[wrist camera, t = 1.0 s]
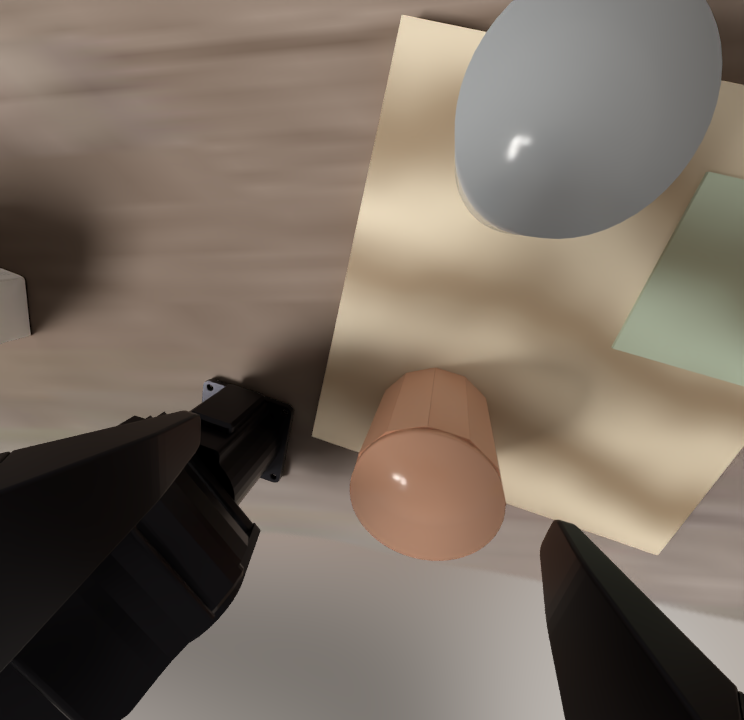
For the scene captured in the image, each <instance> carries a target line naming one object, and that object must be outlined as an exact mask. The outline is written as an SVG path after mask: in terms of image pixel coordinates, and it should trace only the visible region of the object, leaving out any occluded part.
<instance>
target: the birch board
mask: <svg viewBox="0 0 744 720" xmlns="http://www.w3.org/2000/svg"><path fill="white" fill-rule="evenodd" d="M485 34H486V32H484V31H479V30H474V29H469V28H464V27H459V26H455V25H450V24H445V23H440V22H435V21H430V20H425V19H420V18H416V17H411V16H406V15H402V17H401V21H400V26H399V31H398V35H397V40H396V45H395V49H394V54H393V59H392V63H391V68H390V73H389V77H388V82H387V87H386V91H385V96H384V101H383V105H382V110H381V115H380V119H379V124H378V129H377V133H376V138H375V143H374V147H373V152H372V157H371V161H370V166H369V171H368V175H367V180H366V185H365V189H364V194H363V199H362V203H361V208H360V213H359V217H358V222H357V227H356V231H355V236H354V241H353V245H352V250H351V255H350V259H349V264H348V269H347V273H346V278H345V283H344V288H343V292H342V297H341V302H340V306H339V311H338V316H337V320H336V325H335V330H334V334H333V339H332V344H331V348H330V353H329V358H328V362H327V367H326V372H325V376H324V381H323V386H322V390H321V395H320V400H319V404H318V409H317V414H316V418H315V423H314V428H313V432H312V437H315V438H318V439H321V440H324V441H327V442H330V443H333V444H335V445H338V446H341V447H344V448H347V449H350V450H353V451H356V452H360V449H361V447H362V445H363V442H364V440H365V438H366V435H367V433H368V431H369V428H370V426H371V423H372V421H373V419H374V416H375V414H376V412H377V409H378V407H379V404H380V402H381V400H382V397H383V395H384V393H385V390H386V389H388V388H389V387H390V386H391V385H392V384H394V383H395V382H396V381H397V380H398V379H399V378H401V377H402V376H403V375H404V374H405V373H408V372H413V371H419V370H424V369H429V368H439V369H442V370H446V371H449V372H452V373H455V374H459V375H462V376H465V377H466V378H467V379H468V380H469V381H470V382H471V383H472V384H473V385H474V386H475V387H476V388H477V389H478V390H479V391H480V392H481V393H482V394H483V395H484V396H485V397H486V400H487V405H488V410H489V415H490V420H491V425H492V431H493V436H494V441H495V447H496V452H497V457H498V463H499V468H500V473H501V478H502V484H503V489H504V494H505V500H506V503H507V504H510V505H512V506H515V507H518V508H521V509H524V510H527V511H530V512H533V513H536V514H539V515H542V516H544V517H547V518H550V519H553V520H562V521H566V522H569V523H572V524H574V525H576V526H577V527H578V528H579V529H582V530H585V531H588V532H591V533H594V534H597V535H600V536H602V537H605V538H608V539H611V540H614V541H617V542H620V543H623V544H626V545H629V546H631V547H634V548H637V549H640V550H643V551H646V552H649V553H652V554H655V555H658V554H659V553H660V552H661V551H662V549H663V548H664V547H665V545H666V544H667V543H668V542H669V540H670V539H671V538H672V537H673V535H674V534H675V533H676V531H677V530H678V529H679V528H680V526H681V525H682V524H683V523H684V521H685V520H686V519H687V518H688V516H689V515H690V514H691V512H692V511H693V510H694V509H695V507H696V506H697V505H698V504H699V502H700V501H701V500H702V498H703V497H704V496H705V495H706V493H707V492H708V491H709V490H710V488H711V487H712V486H713V485H714V483H715V482H716V481H717V479H718V478H719V477H720V476H721V474H722V473H723V472H724V471H725V469H726V468H727V467H728V465H729V464H730V463H731V462H732V460H733V459H734V458H735V457H736V455H737V454H738V453H739V451H740V450H741V449H742V448H743V446H744V85H742V84H737V83H732V82H727V81H722V80H721V85H720V90H719V95H718V100H717V104H716V107H715V111H714V114H713V117H712V120H711V123H710V125H709V127H708V129H707V131H706V134H705V136H704V138H703V140H702V142H701V144H700V145H699V147H698V149H697V151H696V152H695V154H694V156H693V157H692V159H691V160H690V162H689V163H688V164H687V166H686V167H685V168H684V170H683V171H682V172H681V174H680V175H679V176H678V177H677V178H676V179H675V181H674V182H673V183H672V184H671V185H670V186H669V187H668V188H667V189H666V190H665V191H664V192H663V193H662V194H661V195H660V196H659V197H657V198H656V199H655V200H654V201H653V202H652V203H650V204H649V205H648V206H646V207H645V208H644V209H642V210H641V211H640V212H638V213H637V214H635V215H633V216H632V217H630V218H628V219H626V220H625V221H623V222H621V223H619V224H617V225H615V226H612V227H610V228H608V229H606V230H603V231H600V232H596V233H593V234H590V235H586V236H581V237H576V238H565V239H548V238H537V237H529V236H521V235H513V234H507V233H502V232H499V231H496V230H493V229H491V228H489V227H487V226H485V225H484V224H482V223H481V222H479V221H478V220H477V219H476V218H475V217H474V216H473V215H472V214H471V213H470V212H469V210H468V209H467V208H466V206H465V205H464V203H463V201H462V199H461V197H460V194H459V192H458V188H457V185H456V179H455V115H456V106H457V101H458V97H459V92H460V88H461V85H462V82H463V79H464V76H465V73H466V70H467V67H468V65H469V63H470V61H471V59H472V57H473V54H474V52H475V50H476V49H477V47H478V45H479V44H480V42H481V40H482V38H483V37H484V35H485Z"/></svg>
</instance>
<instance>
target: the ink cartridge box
mask: <svg viewBox="0 0 744 720" xmlns="http://www.w3.org/2000/svg"><path fill="white" fill-rule="evenodd" d="M30 335H31V332H30V323H29V314H28V304H27V295H26V286H25V279H24V277H22V276H20V275H18V274H15V273H12V272H10V271H7V270H4V269H2V268H0V344H2V343H5V342H9V341H12V340H17V339H20V338H24V337H28V336H30Z"/></svg>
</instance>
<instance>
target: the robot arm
mask: <svg viewBox="0 0 744 720" xmlns="http://www.w3.org/2000/svg"><path fill="white" fill-rule="evenodd" d="M210 385H212V387H213V388H211V386H210ZM283 410H286V411H287V412H288V414H286V413H285V412H284V411H283ZM293 414H294V410H293V408H292V406H291V405H289V404H286V403H283V402H280V401H277V400H274V399H271V398H268V397H266V396H264V395H262V394H260V393H257V392H254V391H251V390H248V389H245V388H242V387H239V386H236V385H233V384H227V383H224V382H221V381H218V380H215V379H209V380H207V381H206V382H205V383H204V385H203V397H202V403H201V404H199V405H198V406H196V407H195V408H194V409H192V410H191V411H179V412H175V413H171V414H166V413H165V412H163V413H162V414H160V415H158V416H157V417H154V418H152V416H149V417H148V418H146V419H144V418H141V417H138V416H133V417H131V418H130V419H128V420H126V421H125V422H123V423H121V424H120V425H118V426H115V427H111V428H107V429H103V430H98V431H94V432H90V433H86V434H81V435H77V436H73V437H69V438H64V439H60V440H56V441H52V442H47V443H43V444H39V445H35V446H30V447H26V448H22V449H18V450H14V451H12V452H11V453H10V452H5V453H0V720H121V719H123V718H124V717H125V716H127V715H128V714H129V713H130V712H131V711H132V710H133V708H134V707H135V706H136V705H137V703H138V702H139V701H140V700H141V698H142V697H143V696H144V695H145V693H146V692H147V691H148V689H149V688H150V687H151V686H152V684H153V683H154V682H155V681H156V679H157V678H158V677H159V676H160V675H161V673H162V672H163V671H164V670H165V669H166V667H167V666H168V665H169V664H170V663H171V661H172V660H173V659H174V658H175V657H176V656H177V655H178V654H179V653H180V652H181V651H182V650H183V648H185V646H186V645H187V644H188V643H189V642H191V641H193V640H194V639H196V638H197V637H199V636H200V635H201V634H203V633H204V632H205V631H206V630H208V629H209V628H210V627H211V626H212V625H213V624H214V623H215V622H216V621H217V620H218V619H219V618H220V616H221V615H222V614H223V613H224V612H225V610H226V609H227V608H228V607H229V605H230V604H231V602H232V601H233V600H234V598H235V596H236V595H237V593H238V591H239V589H240V587H241V584H242V582H243V579H244V576H245V573H246V570H247V568H248V565H249V561H250V559H251V556H252V553H253V550H254V547H255V545H256V542H257V539H258V536H259V533H260V529H259V528H258V526H257V525H256V524H255V523H252V522H251V521H250V520H249V518H248V517H247V516H246V515H245V513H244V512H243V511H242V510H241V508H240V507H239V506H238V505H239V504H240V502H241V501H242V500H243V498H244V497H245V496H246V495H247V493H248V492H249V491H250V489H251V488H252V487H253V486H254V484H255V483H256V482H257V480H258V479H259V478H263V479H266V480H268V481H271V482H278V481H279V480H280V478H281V477H282V473H283V468H284V462H285V457H286V452H287V446H288V441H289V435H290V430H291V425H292V419H293ZM273 474H275V475H276V476H275V475H273ZM540 560H541V571H542V582H543V593H544V604H545V614H546V622H547V629H548V634H549V640H550V645H551V650H552V655H553V660H554V665H555V670H556V675H557V680H558V685H559V690H560V695H561V700H562V705H563V710H564V716H565V720H744V694H743V693H742V692H740V691H738V690H737V687H736V686H735V685H734V684H733V683H732V682H731V681H730V680H729V679H728V678H727V677H726V676H725V675H724V674H723V673H722V672H721V671H720V670H719V669H718V668H717V667H716V666H715V665H714V664H713V663H712V662H711V661H710V660H709V659H708V658H707V657H706V656H705V655H704V654H703V653H702V652H701V651H700V650H699V648H698V647H696V646H695V645H694V643H692V642H691V640H690V639H689V638H688V637H686V636H685V635H684V633H682V631H680V629H678V627H676V625H675V624H674V623H673V622H672V621H671V620H670V619H669V618H668V617H667V616H666V615H664V613H663V612H662V611H661V610H660V609H659V608H658V607H657V606H656V605H655V604H654V603H653V602H652V601H651V600H650V599H649V598H648V597H647V596H646V595H645V594H644V593H643V592H642V591H641V590H640V589H639V588H638V587H637V586H636V585H635V584H634V583H633V582H632V581H631V580H630V579H629V578H628V577H627V576H626V575H625V574H624V573H623V572H622V571H621V570H620V569H619V568H618V567H617V566H616V565H615V564H614V563H613V562H612V561H611V560H610V559H609V558H608V557H607V556H606V555H605V554H604V553H603V552H602V551H601V550H600V549H599V548H598V547H597V546H596V545H595V544H594V543H593V542H592V541H591V540H590V539H589V538H588V537H587V536H586V535H585V534H584V533H583V532H582V531H581V530H580V529H579V528H578V527H577V526H576V525H574V524H572V523H569V522H566V521H562V520H555V521H553V523H552V524H551V526H550V528H549V530H548V532H547V534H546V536H545V538H544V540H543V542H542V545H541V548H540Z"/></svg>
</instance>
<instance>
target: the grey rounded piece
mask: <svg viewBox="0 0 744 720" xmlns="http://www.w3.org/2000/svg"><path fill="white" fill-rule="evenodd" d="M721 76H722V50H721V41H720V36H719V32H718V27H717V24H716V21H715V19H714V16H713V14H712V11H711V9H710V6H709V5H708V3H707V2H706V0H513V1H512V2H511V3H510V4H509V5H508V6H507V8H506V9H505V10H504V11H503V12H502V13H501V14H500V15H499V16H498V17H497V19H496V20H495V21H494V23H493V24H492V25H491V27H490V28H489V29H488V31H487V32H486V34H485V35H484V37H483V38H482V40H481V42H480V44H479V45H478V47H477V49H476V50H475V52H474V54H473V57H472V59H471V61H470V63H469V65H468V67H467V70H466V73H465V76H464V79H463V82H462V85H461V88H460V92H459V97H458V101H457V106H456V115H455V179H456V185H457V188H458V192H459V194H460V197H461V199H462V201H463V203H464V205H465V206H466V208H467V209H468V210H469V212H470V213H471V214H472V215H473V216H474V217H475V218H476V219H477V220H478V221H479V222H481V223H482V224H484V225H485V226H487V227H489V228H491V229H493V230H496V231H499V232H502V233H507V234H513V235H521V236H529V237H537V238H548V239H565V238H576V237H581V236H586V235H590V234H593V233H596V232H600V231H603V230H606V229H608V228H610V227H612V226H615V225H617V224H619V223H621V222H623V221H625V220H626V219H628V218H630V217H632V216H633V215H635V214H637V213H638V212H640V211H641V210H642V209H644V208H645V207H646V206H648V205H649V204H650V203H652V202H653V201H654V200H655V199H656V198H657V197H659V196H660V195H661V194H662V193H663V192H664V191H665V190H666V189H667V188H668V187H669V186H670V185H671V184H672V183H673V182H674V181H675V179H676V178H677V177H678V176H679V175H680V174H681V172H682V171H683V170H684V168H685V167H686V166H687V164H688V163H689V162H690V160H691V159H692V157H693V156H694V154H695V152H696V151H697V149H698V147H699V145H700V144H701V142H702V140H703V138H704V136H705V134H706V131H707V129H708V127H709V125H710V123H711V120H712V117H713V114H714V111H715V107H716V104H717V100H718V95H719V90H720V85H721Z"/></svg>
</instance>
